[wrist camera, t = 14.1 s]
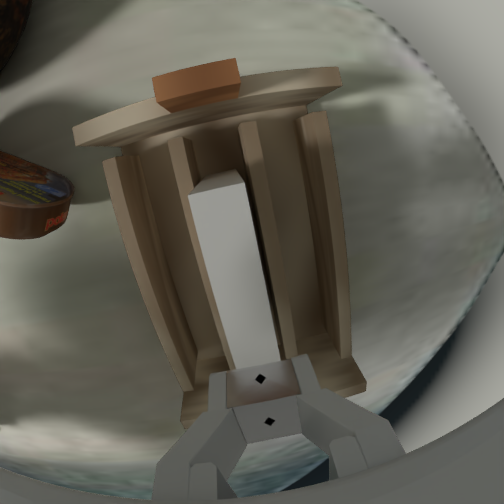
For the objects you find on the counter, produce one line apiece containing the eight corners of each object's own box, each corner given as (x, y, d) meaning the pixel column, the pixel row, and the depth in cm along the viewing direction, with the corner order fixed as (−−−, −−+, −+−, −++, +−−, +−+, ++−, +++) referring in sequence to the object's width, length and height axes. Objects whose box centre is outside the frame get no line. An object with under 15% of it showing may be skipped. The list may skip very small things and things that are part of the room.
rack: (192, 362, 26) (182, 462, 15) (123, 134, 19) (39, 124, 9) (333, 331, 26) (381, 420, 15) (299, 94, 19) (364, 48, 9)
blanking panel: (240, 317, 23) (251, 414, 14) (206, 175, 19) (187, 195, 10) (265, 311, 23) (289, 406, 14) (235, 168, 20) (244, 182, 10)
